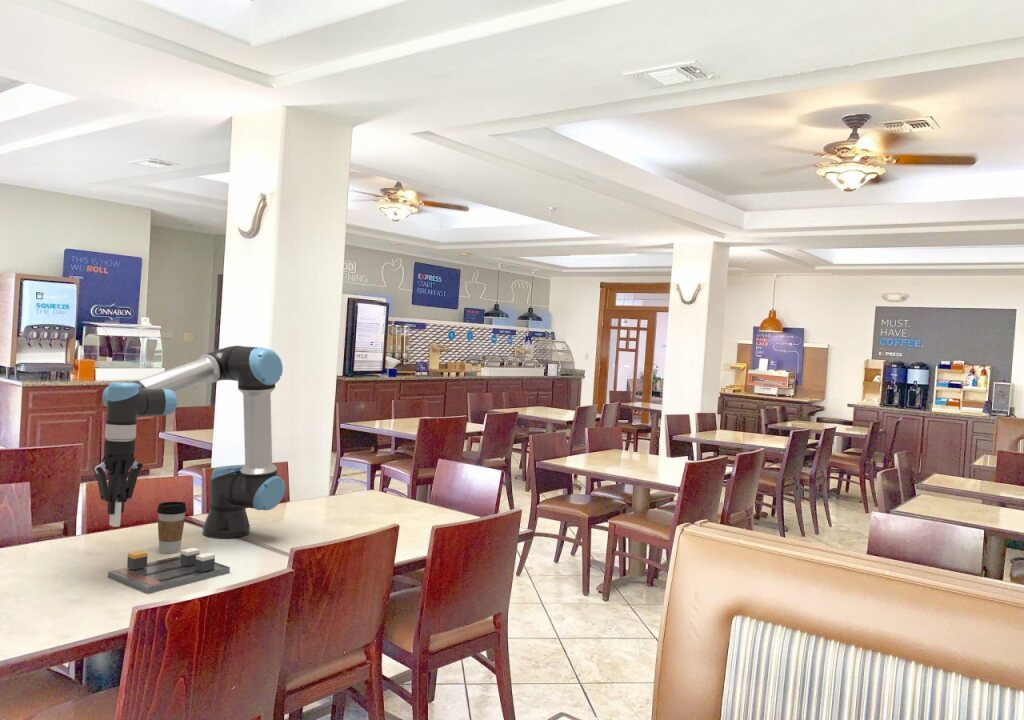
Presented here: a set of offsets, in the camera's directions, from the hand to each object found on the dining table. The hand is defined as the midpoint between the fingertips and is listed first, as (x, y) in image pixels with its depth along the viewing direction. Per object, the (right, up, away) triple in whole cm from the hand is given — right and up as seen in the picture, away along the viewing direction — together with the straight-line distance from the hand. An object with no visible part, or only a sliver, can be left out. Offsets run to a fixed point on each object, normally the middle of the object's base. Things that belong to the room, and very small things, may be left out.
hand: (114, 525), depth 208 cm
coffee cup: (+2, -14, +30) cm, 33 cm away
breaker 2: (+21, -14, +9) cm, 27 cm away
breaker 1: (+15, -14, +12) cm, 24 cm away
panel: (+12, -16, +7) cm, 21 cm away
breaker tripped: (+3, -13, +6) cm, 15 cm away
